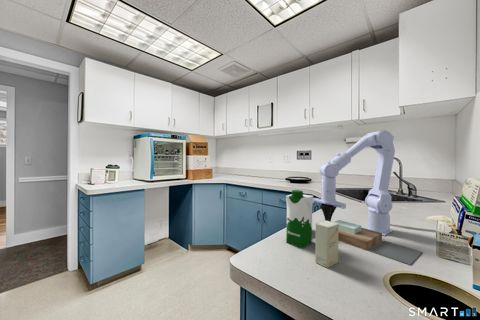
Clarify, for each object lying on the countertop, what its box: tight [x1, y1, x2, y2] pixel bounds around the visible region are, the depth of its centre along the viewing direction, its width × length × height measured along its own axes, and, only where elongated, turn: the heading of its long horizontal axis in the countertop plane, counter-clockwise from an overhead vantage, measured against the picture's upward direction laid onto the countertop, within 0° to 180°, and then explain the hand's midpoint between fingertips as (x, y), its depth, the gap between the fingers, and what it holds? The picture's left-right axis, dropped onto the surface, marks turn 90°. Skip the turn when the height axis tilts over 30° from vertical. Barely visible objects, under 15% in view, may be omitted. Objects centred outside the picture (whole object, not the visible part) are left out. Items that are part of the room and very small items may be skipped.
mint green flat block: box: [333, 219, 362, 234], centre depth 84 cm, size 6×9×2 cm, turn 37°
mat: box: [369, 240, 423, 266], centre depth 70 cm, size 14×11×1 cm
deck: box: [338, 227, 383, 251], centre depth 82 cm, size 14×16×3 cm
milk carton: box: [285, 189, 314, 249], centre depth 77 cm, size 9×9×20 cm
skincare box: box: [314, 220, 339, 268], centre depth 63 cm, size 6×4×12 cm
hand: (328, 221), depth 90 cm, fingers closed
